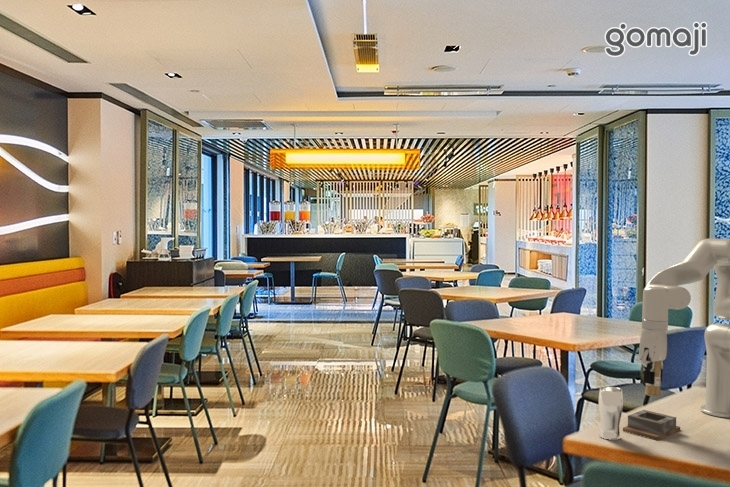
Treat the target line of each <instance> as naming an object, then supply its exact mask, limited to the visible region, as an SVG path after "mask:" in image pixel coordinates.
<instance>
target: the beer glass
mask: <svg viewBox="0 0 730 487" xmlns="http://www.w3.org/2000/svg"><path fill="white" fill-rule="evenodd" d="M623 395H624V394H623V389H622V388H620V387H615V386H610V385H609V386H604V385H603V386H600V387H599V393H598V410H599V419H600V430H599V434H598V435H599V437H600V438H601V437H602V438H601V439H603V438H604V440H606V439H609V440H608V441H619V440H620V439H621V432H620V423H621V417H622V414H623V408H624V405H623V404H624V397H623ZM618 439H619V440H618Z"/></svg>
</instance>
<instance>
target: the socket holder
mask: <svg viewBox="0 0 730 487" xmlns="http://www.w3.org/2000/svg"><path fill="white" fill-rule="evenodd" d="M680 430H681V426H680V425H679V426H678V425H677V417H676V416H672V415H668V414H663V413H659V412H654V411H651V410H646V409H641V410H639V411H636V412H632V413H631V414H629V415H627V426H624V427H622V432H625V431H626V432H625V433H629V432H630V433H629V434H632V433H634V434H633V435H636V434H637V435H636V436H640V435H641V436H640V437H643V436H645V437H644V438H647V437H649V438H648V439H651V438H653V439H652V440H654V439H656V440H655V441H659V440H661V439H663V438H665V436H666V437H667V435H668V436H670V435H672V434H675V433H677V432H679V431H680ZM674 432H675V433H674ZM660 438H661V439H660ZM658 439H659V440H658Z"/></svg>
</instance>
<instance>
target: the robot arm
mask: <svg viewBox="0 0 730 487" xmlns="http://www.w3.org/2000/svg"><path fill="white" fill-rule="evenodd" d="M712 269H714V272H715V275H716V280H717V282H716V290H715V295H714V296H715V297H714V301H713V302H714V303H713V314H714V316H715V317H716V318H718V319H720V320H724V321H730V238H704V239H701V240H700V241H698V242H697V243H696V245H695V246H694V247H693V248H692V249H691V250H690V252H689V253H688V254H686V256H685V257H684V259H683V260H682V261H681V262H679V263H677V264H674V265H672V266H669V267H667V268H665V269H663V270H661V271H659V272H657V273H656V274H655V275H654V276H653V277H652V278H651V279H650V280H649V281H648V283H647V284H646V285H645V287H644V288H643V290H642V309H641V310H642V312H641V313H642V314H641V315H642V316H641V334H640V339H639V350H638V360H640V363H641V364H642V366H643V383H644V384H646V383H648V384H654V383H655V372H653V371H654V364H655V362H657V361H659V358H660V356H662V360H661V382H663V369H664V364H665V360H666V359H667V353H668V336H667V335H668V334H667V332H668V330H669V327H668V326H669V310H678V311H679V310H683V309H685V308H687V307H688V306H689V304H691V300H692V298H691V294H690V291H689V290H688V289H686V287H682V286H683V285H684V286H685V285H690V284H694V283H697V282H700V281H703V280H704V279H705V277H706V276H707V275H708V274H709V273H710V271H711V270H712ZM704 343H705V351H706V370H705V371H706V373H705V374H706V378H705V404H702V405H701V406H700V408H699V409H700V411H701V412H703V413H704V414H706V415H710V416H714V417H720V418H728V419H730V323H729V324H728V323H722V322H720V323H718V322H717V323H716V322H715V323H712V324H709V325H707V326H706V328H705V331H704ZM648 359H651V361H648ZM648 363H651V366H650V364H648Z"/></svg>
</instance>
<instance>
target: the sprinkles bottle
mask: <svg viewBox="0 0 730 487" xmlns="http://www.w3.org/2000/svg"><path fill="white" fill-rule="evenodd" d="M661 360H662V356H660V358H659V361H657V362H655V364H654V371H653V372H655V383H654V384H648V383H645V392H644V394H645V395H646V396H647V397H656V398H657V397H661V385H662V384H661ZM648 361H651V359H648ZM648 364H650V366H651V363H648Z"/></svg>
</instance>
